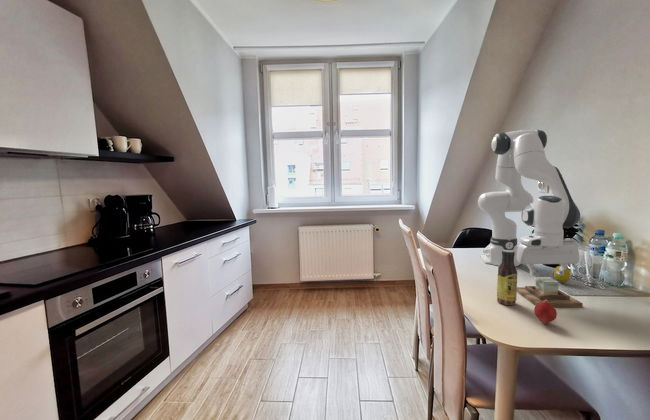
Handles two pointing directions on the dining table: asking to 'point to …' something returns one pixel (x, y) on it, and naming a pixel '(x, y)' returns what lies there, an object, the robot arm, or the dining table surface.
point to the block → (546, 286)
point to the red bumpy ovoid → (545, 312)
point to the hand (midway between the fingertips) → (546, 274)
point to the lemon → (562, 277)
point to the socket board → (548, 297)
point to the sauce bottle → (507, 279)
